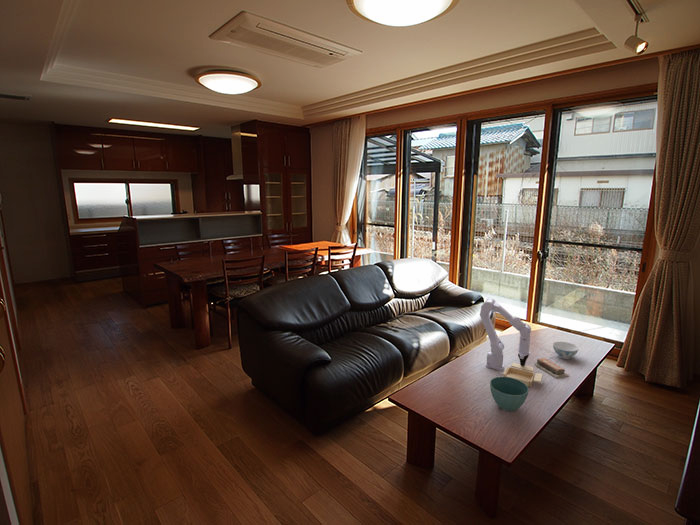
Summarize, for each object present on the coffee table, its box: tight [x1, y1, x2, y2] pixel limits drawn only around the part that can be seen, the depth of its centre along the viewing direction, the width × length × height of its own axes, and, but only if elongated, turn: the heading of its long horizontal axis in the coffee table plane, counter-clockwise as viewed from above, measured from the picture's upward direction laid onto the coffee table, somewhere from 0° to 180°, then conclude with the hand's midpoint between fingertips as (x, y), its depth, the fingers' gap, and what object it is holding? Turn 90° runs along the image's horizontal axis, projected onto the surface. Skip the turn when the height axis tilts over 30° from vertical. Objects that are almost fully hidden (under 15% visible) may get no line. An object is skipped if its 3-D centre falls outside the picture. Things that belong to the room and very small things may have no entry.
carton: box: [502, 366, 536, 388], centre depth 217 cm, size 16×13×3 cm
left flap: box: [510, 362, 534, 373], centre depth 223 cm, size 12×1×4 cm
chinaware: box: [552, 341, 579, 360], centre depth 244 cm, size 15×15×8 cm
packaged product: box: [534, 357, 570, 379], centre depth 227 cm, size 18×5×10 cm
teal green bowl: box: [489, 376, 529, 412], centre depth 189 cm, size 18×18×12 cm
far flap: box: [533, 372, 543, 384], centre depth 211 cm, size 1×10×4 cm
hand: (522, 365), depth 224 cm, fingers closed
